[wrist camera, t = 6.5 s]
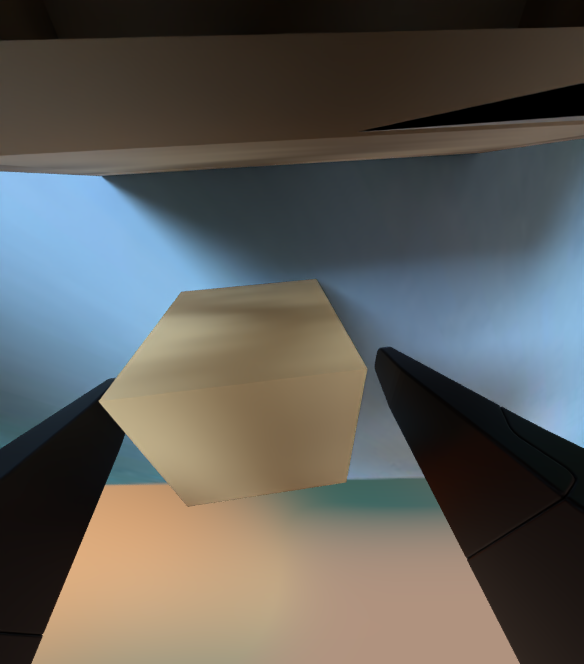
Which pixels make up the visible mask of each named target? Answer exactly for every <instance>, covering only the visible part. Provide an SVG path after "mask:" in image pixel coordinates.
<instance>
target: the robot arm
mask: <svg viewBox="0 0 584 664" xmlns="http://www.w3.org/2000/svg"><path fill="white" fill-rule="evenodd" d="M375 371H376V374H377V376H378V379H379V382H380V384H381V387H382V390H383V392H384V395H385V398H386V400H387V403H388V405H389V408H390V410H391V412H392V414H393V416H394V418H395V420H396V422H397V424H398V425H399V427H400V429H401V431H402V433H403V435H404V437H405V439H406V441H407V443H408V445H409V447H410V449H411V451H412V453H413V455H414V457H415V459H416V461H417V463H418V465H419V467H420V469H421V470H422V472H423V474H424V476H425V478H426V480H427V482H428V484H429V486H430V488H431V490H432V492H433V494H434V496H435V498H436V500H437V502H438V504H439V505H440V508H441V510H442V512H443V513H444V515H445V517H446V519H447V521H448V523H449V525H450V527H451V529H452V531H453V533H454V535H455V537H456V539H457V541H458V543H459V545H460V547H461V549H462V551H463V552H464V555H465V556H466V558H467V561H468V563H469V565H470V567H471V569H472V571H473V573H474V575H475V577H476V579H477V580H478V582H479V584H480V586H481V588H482V590H483V592H484V594H485V596H486V598H487V600H488V602H489V604H490V606H491V608H492V610H493V612H494V614H495V615H496V618H497V620H498V622H499V623H500V625H501V627H502V629H503V631H504V633H505V635H506V637H507V639H508V641H509V643H510V645H511V647H512V649H513V651H514V653H515V655H516V657H517V659H518V661H519V662H520V664H584V448H582V447H580V446H578V445H576V444H574V443H572V442H570V441H568V440H566V439H564V438H562V437H560V436H558V435H556V434H553V433H551V432H549V431H547V430H545V429H543V428H541V427H539V426H538V425H536V424H534V423H532V422H530V421H528V420H526V419H524V418H522V417H520V416H518V415H516V414H515V413H513V412H511V411H509V410H507V409H505V408H504V407H500V406H499V405H498V404H496V403H494V402H492V401H490V400H488V399H487V398H485V397H483V396H481V395H479V394H477V393H475V392H474V391H472V390H470V389H468V388H466V387H464V386H462V385H461V384H459V383H457V382H455V381H453V380H451V379H449V378H448V377H446V376H444V375H442V374H440V373H438V372H436V371H435V370H433V369H431V368H429V367H427V366H425V365H423V364H422V363H420V362H418V361H416V360H414V359H412V358H410V357H409V356H407V355H405V354H403V353H401V352H399V351H397V350H395V349H394V348H392V347H382V348H379V349H378V351H377V355H376V360H375ZM115 379H116V378H111V379H108V380H106V381H105V382H103V383H102V384H100V385H98V386H97V387H95V388H94V389H92V390H91V391H89V392H88V393H86V394H84V395H83V396H81V397H80V398H78V399H77V400H75V401H74V402H72V403H71V404H69V405H67V406H66V407H64V408H63V409H61V410H60V411H58V412H57V413H55V414H54V415H52V416H50V417H49V418H47V419H46V420H44V421H43V422H41V423H40V424H38V425H37V426H35V427H33V428H32V429H30V430H29V431H27V432H26V433H24V434H23V435H21V436H20V437H18V438H16V439H15V440H13V441H12V442H10V443H9V444H7V445H6V446H4V447H2V448H1V449H0V664H31V663H32V661H33V658H34V656H35V653H36V651H37V649H38V646H39V644H40V641H41V639H42V636H43V635H42V634H43V633H44V631H45V629H46V626H47V624H48V621H49V619H50V616H51V614H52V612H53V609H54V607H55V604H56V602H57V599H58V597H59V595H60V592H61V590H62V588H63V585H64V583H65V580H66V578H67V575H68V573H69V571H70V568H71V566H72V563H73V561H74V559H75V556H76V554H77V551H78V549H79V546H80V544H81V542H82V539H83V537H84V534H85V532H86V529H87V527H88V525H89V522H90V520H91V518H92V515H93V513H94V510H95V508H96V505H97V503H98V501H99V498H100V496H101V493H102V491H103V489H104V486H105V484H106V481H107V479H108V476H109V474H110V472H111V469H112V467H113V464H114V462H115V460H116V457H117V455H118V452H119V450H120V447H121V445H122V442H123V439H124V436H125V432H124V431H123V430H122V428H121V427H120V426H119V425H118V424H117V423H116V421H115V420H114V419H113V418H112V417H111V415H110V414H109V413H108V412H107V411H106V410H105V408H104V407H103V406H102V405H101V404H100V403H99V400H100V399H101V398H102V396H103V395H104V394H105V392H106V391H107V390H108V388H109V387H110V386H111V384H112V383H113V382H114V380H115Z"/></svg>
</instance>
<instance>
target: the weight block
mask: <svg viewBox="0 0 584 664" xmlns="http://www.w3.org/2000/svg"><path fill="white" fill-rule="evenodd" d="M366 373H367V367H366V366H365V364H364V362H363V360H362V358H361V357H360V355H359V353H358V351H357V350H356V348H355V346H354V344H353V343H352V341H351V339H350V337H349V336H348V334H347V332H346V330H345V329H344V327H343V325H342V323H341V322H340V320H339V318H338V316H337V314H336V313H335V311H334V309H333V307H332V306H331V304H330V302H329V300H328V299H327V297H326V295H325V293H324V292H323V290H322V288H321V286H320V285H319V283H318V281H317V279H310V280H299V281H289V282H278V283H268V284H258V285H247V286H237V287H226V288H216V289H205V290H195V291H184V292H181V293H180V294H179V295H178V297H177V298H176V299H175V301H174V302H173V303H172V305H171V306H170V307H169V309H168V310H167V311H166V313H165V314H164V315H163V317H162V318H161V319H160V321H159V322H158V323H157V325H156V326H155V327H154V329H153V330H152V331H151V333H150V334H149V335H148V337H147V338H146V339H145V341H144V342H143V343H142V345H141V346H140V347H139V349H138V350H137V351H136V352H135V354H134V355H133V356H132V358H131V359H130V360H129V362H128V363H127V364H126V366H125V367H124V368H123V370H122V371H121V372H120V374H119V375H118V376H117V378H116V379H115V380H114V382H113V383H112V384H111V386H110V387H109V388H108V390H107V391H106V392H105V394H104V395H103V396H102V398H101V399H100V400H99V403H100V404H101V405H102V406H103V407H104V408H105V410H106V411H107V412H108V413H109V414H110V415H111V417H112V418H113V419H114V420H115V421H116V423H117V424H118V425H119V426H120V427H121V428H122V430H123V431H124V432H125V433H126V434H127V436H128V437H129V438H130V439H131V440H132V441H133V443H134V444H135V445H136V446H137V447H138V449H139V450H140V451H141V452H142V453H143V454H144V456H145V457H146V458H147V459H148V460H149V462H150V463H151V464H152V465H153V466H154V467H155V469H156V470H157V471H158V472H159V473H160V475H161V476H162V477H163V478H164V479H165V480H166V482H167V483H168V484H169V485H170V486H171V487H172V489H173V490H174V491H175V492H176V493H177V495H178V496H179V497H180V498H181V499H182V501H183V502H184V503H185V504H186V505H187V506H188V507H189V506H195V505H201V504H208V503H215V502H221V501H228V500H234V499H241V498H247V497H254V496H260V495H267V494H273V493H280V492H286V491H293V490H300V489H305V488H313V487H319V486H326V485H332V484H339V483H345V482H346V480H347V475H348V470H349V465H350V459H351V454H352V448H353V443H354V438H355V432H356V427H357V421H358V416H359V411H360V405H361V400H362V394H363V389H364V384H365V378H366Z"/></svg>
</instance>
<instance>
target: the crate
mask: <svg viewBox="0 0 584 664" xmlns="http://www.w3.org/2000/svg"><path fill="white" fill-rule="evenodd" d="M580 83H584V0H0V171H5V172H26V173H47V174H68V175H89V176H108V175H124V174H141V173H157V172H174V171H190V170H207V169H223V168H240V167H256V166H273V165H289V164H306V163H322V162H339V161H355V160H372V159H388V158H405V157H421V156H438V155H454V154H471V153H484V152H491V151H498V150H505V149H512V148H519V147H526V146H533V145H540V144H548V143H555V142H562V141H569V140H576V139H583V138H584V120H578V121H559V122H540V123H521V124H502V125H483V126H463V127H444V128H425V129H406V130H387V131H368V132H359V131H364V130H368V129H373V128H377V127H382V126H387V125H391V124H396V123H400V122H405V121H410V120H414V119H419V118H423V117H428V116H433V115H437V114H442V113H447V112H451V111H456V110H460V109H465V108H470V107H474V106H479V105H483V104H488V103H493V102H497V101H502V100H506V99H511V98H516V97H520V96H525V95H529V94H534V93H539V92H543V91H548V90H553V89H557V88H562V87H566V86H571V85H576V84H580Z"/></svg>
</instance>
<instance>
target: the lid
mask: <svg viewBox="0 0 584 664" xmlns="http://www.w3.org/2000/svg"><path fill="white" fill-rule="evenodd" d="M578 120H584V83H580V84H576V85H571V86H566V87H562V88H557V89H553V90H548V91H543V92H539V93H534V94H529V95H525V96H520V97H516V98H511V99H506V100H502V101H497V102H493V103H488V104H483V105H479V106H474V107H470V108H465V109H460V110H456V111H451V112H447V113H442V114H437V115H433V116H428V117H423V118H419V119H414V120H410V121H405V122H400V123H396V124H391V125H387V126H382V127H377V128H373V129H368V130H364V131H359V132H368V131H387V130H406V129H425V128H444V127H463V126H483V125H502V124H521V123H540V122H559V121H578Z"/></svg>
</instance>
